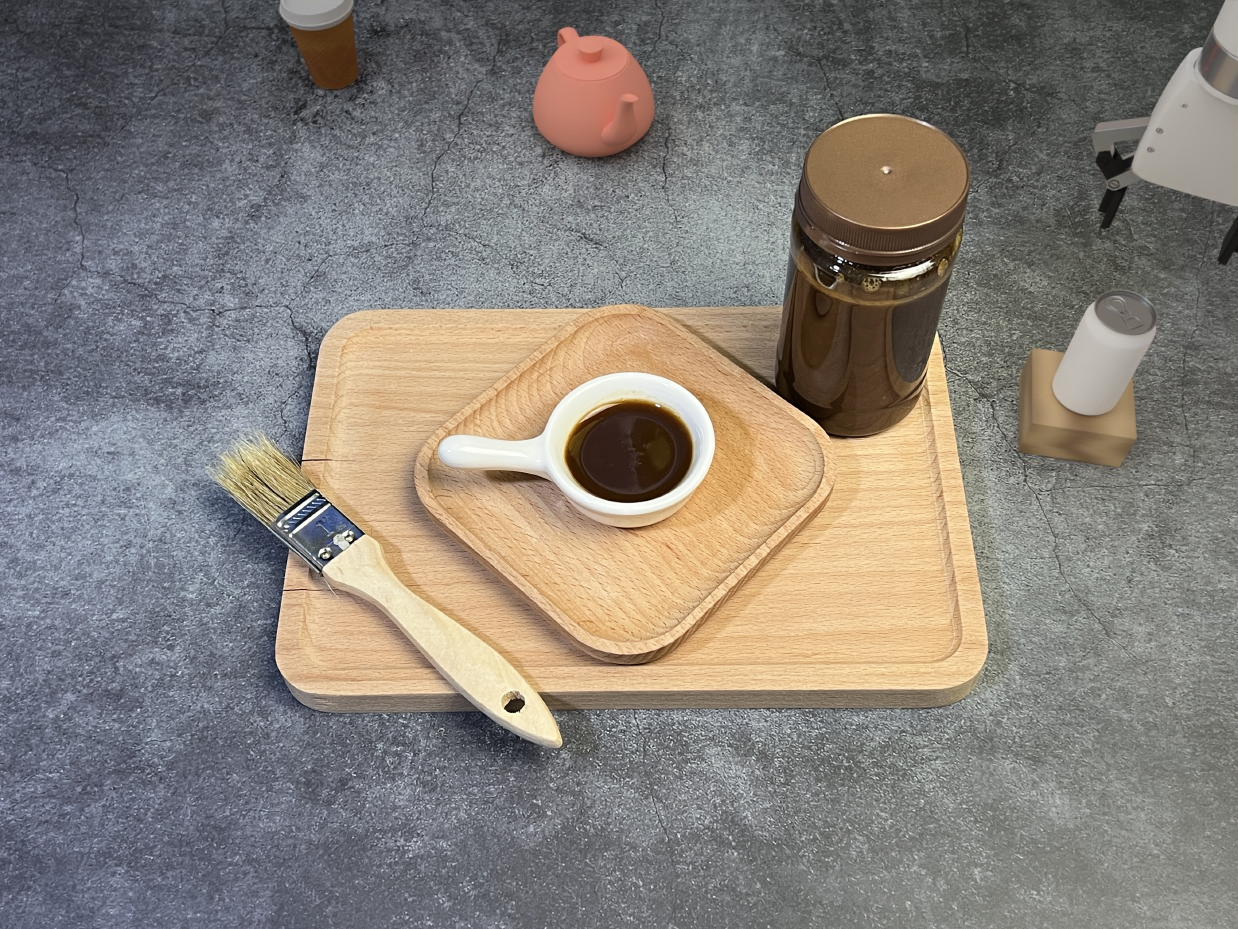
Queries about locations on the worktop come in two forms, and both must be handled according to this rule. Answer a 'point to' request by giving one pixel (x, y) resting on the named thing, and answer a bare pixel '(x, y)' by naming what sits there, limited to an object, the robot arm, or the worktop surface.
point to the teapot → (592, 97)
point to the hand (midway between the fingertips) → (1164, 235)
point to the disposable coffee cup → (324, 39)
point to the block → (1070, 419)
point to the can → (1105, 352)
